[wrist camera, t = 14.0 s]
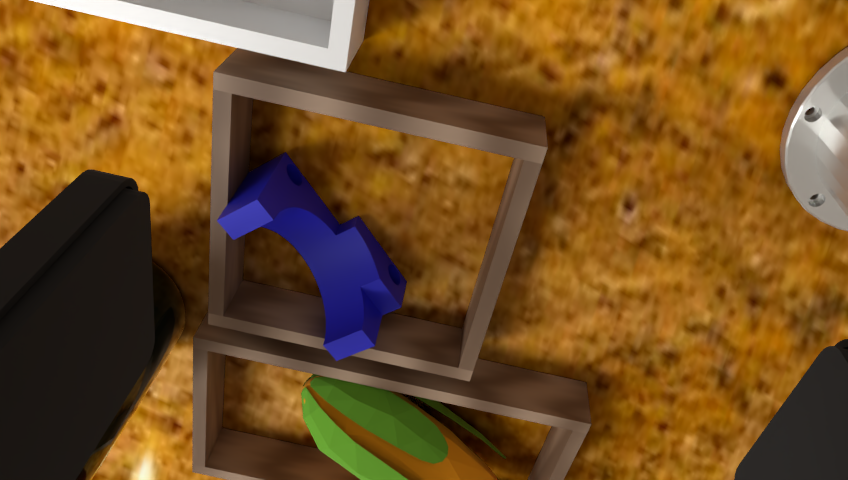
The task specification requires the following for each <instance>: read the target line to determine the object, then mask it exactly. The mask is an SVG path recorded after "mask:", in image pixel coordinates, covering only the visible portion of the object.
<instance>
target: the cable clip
mask: <svg viewBox="0 0 848 480" xmlns="http://www.w3.org/2000/svg"><path fill="white" fill-rule="evenodd" d="M217 222H218V223H219V224H220V225H221V226H222V227H223V229H224V230H225V231H226V232H227V233H228V234H229V236H230V237H231V238H232V239H233V240H235V239H237V238H239V237H241V236H243V235H245V234H247V233H249V232H251V231H253V230H255V229H257V228H259V227H264V228H267V229H270V230H272V231H274V232H276V233H278V234H279V235H281V236H282V237H284V238H285V239H286V240H287V241H289V242H290V243H291V244H292V245H293V246H294V247H295V249H296V250H297V251H298V252H299V253H300V254H301V256H302V257H303V259H304V260H305V261H306V263H307V265H308V266H309V268H310V270H311V272H312V273H313V275H314V278H315V280H316V282H317V284H318V287H319V290H320V293H321V296H322V299H323V304H324V309H325V316H326V334H325V340H324V344H323V346H324V347H325V348H326V349H327V351H328V352H329V353H330V354H331V355H332V356H333V358H334V359H335V360H336V361H338V360H340V359H343V358H346V357H348V356H351V355H353V354H356V353H358V352H361V351H364V350H366V349H369V348H371V347H374V346H375V344H376V340H377V336H378V331H379V327H380V323H381V319H382V315H384V314H387V313H389V312H392V311H394V310H397V309H399V308H401V307H402V302H403V297H404V293H405V288H406V283H407V281H406V280H405V278H404V277H403V276H402V274H401V273H400V272H399V270H398V269H397V267H396V266H395V265H394V263H393V262H392V261H391V259H390V258H389V257H388V255H387V254H386V252H385V251H384V250H383V248H382V247H381V246H380V244H379V243H378V242H377V240H376V239H375V237H374V236H373V235H372V233H371V232H370V231H369V229H368V228H367V226H366V225H365V224H364V222H363V221H362V220H361V218H360V217H359V216H357V217H355V218H353V219H351V220H349V221H347V222H345V223H342V224H339V223H338V221H337V220H336V219H335V217H334V216H333V215H332V213H331V212H330V211H329V209H328V208H327V207H326V205H325V204H324V203H323V201H322V200H321V199H320V197H319V196H318V195H317V193H316V192H315V191H314V189H313V188H312V187H311V185H310V184H309V183H308V181H307V180H306V179H305V177H304V176H303V175H302V173H301V172H300V171H299V169H298V168H297V167H296V165H295V164H294V163H293V161H292V160H291V159H290V157H289V156H288V155H287V153H286V152H285V153H283V154H281V155H280V156H278V157H276V158H274V159H272V160H270V161H268V162H267V163H265V164H263V165H261V166H259V167H257V168H256V169H254V170H252V171H250V172H249V173H248V174H247V176H246V177H245V179H244V180H243V182H242V183H241V185H240V186H239V188H238V189H237V191H236V192H235V194H234V195H233V197H232V198H231V200H230V201H229V203H228V204H227V206H226V207H225V209H224V210H223V212H222V213H221V215H220V216H219V218H218V219H217Z"/></svg>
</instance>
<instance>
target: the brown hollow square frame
mask: <svg viewBox="0 0 848 480" xmlns="http://www.w3.org/2000/svg"><path fill="white" fill-rule="evenodd" d="M253 99H258V100H262V101H267V102H271V103H275V104H280V105H284V106H289V107H293V108H297V109H302V110H306V111H311V112H315V113H320V114H324V115H328V116H333V117H337V118H342V119H346V120H350V121H355V122H359V123H364V124H368V125H372V126H377V127H381V128H386V129H390V130H394V131H399V132H403V133H408V134H412V135H416V136H421V137H425V138H430V139H434V140H438V141H443V142H447V143H452V144H456V145H460V146H465V147H469V148H474V149H478V150H482V151H487V152H491V153H496V154H500V155H504V156H509V157H513V158H514V160H513V164H512V167H511V170H510V174H509V177H508V180H507V183H506V187H505V190H504V193H503V196H502V200H501V203H500V206H499V209H498V213H497V216H496V219H495V223H494V226H493V229H492V232H491V236H490V239H489V242H488V245H487V249H486V252H485V255H484V259H483V262H482V265H481V268H480V272H479V275H478V278H477V281H476V285H475V288H474V291H473V295H472V298H471V301H470V304H469V308H468V311H467V314H466V317H465V321H464V324H463V327H462V328H457V327H453V326H448V325H444V324H439V323H435V322H430V321H426V320H421V319H417V318H412V317H408V316H403V315H399V314H394V313H390V312H389V313H387V314H384V315H382V319H381V323H380V327H379V331H378V336H377V340H376V344H375V346H374V347H371V348H369V349H366V350H364V351H361V352H358V353H356V354H353V355H351V356H355V357H360V358H364V359H369V360H374V361H378V362H383V363H387V364H392V365H396V366H401V367H405V368H410V369H415V370H419V371H424V372H428V373H433V374H437V375H442V376H446V377H451V378H456V379H460V380H465V381H469V382H470V379H471V376H472V373H473V370H474V367H475V364H476V361H477V358H478V355H479V352H480V349H481V346H482V343H483V340H484V337H485V334H486V331H487V328H488V325H489V322H490V319H491V316H492V313H493V310H494V307H495V304H496V301H497V298H498V295H499V292H500V289H501V286H502V283H503V280H504V277H505V274H506V271H507V268H508V265H509V262H510V259H511V256H512V253H513V250H514V247H515V244H516V241H517V238H518V235H519V232H520V229H521V226H522V223H523V220H524V217H525V214H526V211H527V208H528V205H529V202H530V199H531V196H532V193H533V190H534V187H535V184H536V181H537V178H538V175H539V172H540V169H541V166H542V163H543V160H544V157H545V154H546V151H547V149H548V145H547V135H546V124H545V117H543V116H539V115H534V114H530V113H525V112H521V111H517V110H512V109H508V108H504V107H499V106H495V105H490V104H486V103H482V102H477V101H473V100H469V99H464V98H460V97H455V96H451V95H447V94H442V93H438V92H434V91H429V90H425V89H421V88H416V87H412V86H407V85H403V84H399V83H394V82H390V81H386V80H381V79H377V78H372V77H368V76H364V75H359V74H355V73H351V72H341V71H337V70H333V69H328V68H324V67H319V66H315V65H311V64H306V63H302V62H298V61H293V60H289V59H285V58H280V57H276V56H271V55H267V54H263V53H258V52H254V51H250V50H245V49H241V48H237V49H236V50H235V51H234V52H233V53H232V54H231V55H230V56H229V57H228V58H227V59H226V60H225V61H224V62H223V63H222V64H221V65H220V66H219V67H218V68H217V69H216V70H215V71H214V75H213V121H212V166H211V212H210V258H209V303H208V324H210V325H214V326H219V327H223V328H228V329H232V330H237V331H241V332H246V333H251V334H255V335H260V336H264V337H269V338H273V339H278V340H282V341H287V342H292V343H296V344H301V345H305V346H310V347H314V348H319V349H323V350H327V349H326V348H325V347H324V346H323V344H324V340H325V334H326V316H325V309H324V304H323V299H322V297H317V296H313V295H308V294H304V293H299V292H295V291H290V290H286V289H281V288H277V287H272V286H268V285H263V284H259V283H254V282H249V281H245V280H243V264H244V246H245V235H243V236H241V237H239V238H237V239H235V240H233V239H232V238H231V237H230V236H229V234H228V233H227V232H226V231H225V230H224V229H223V227H222V226H221V225H220V224H219V223H218V222H217V219H218V218H219V216H220V215H221V213H222V212H223V210H224V209H225V207H226V206H227V204H228V203H229V201H230V200H231V198H232V197H233V195H234V194H235V192H236V191H237V189H238V188H239V186H240V185H241V183H242V182H243V180H244V179H245V177H246V176H247V174H248V173H249V159H250V142H251V125H252V107H253Z"/></svg>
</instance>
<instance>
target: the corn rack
mask: <svg viewBox="0 0 848 480" xmlns="http://www.w3.org/2000/svg"><path fill="white" fill-rule="evenodd" d="M225 355H229V356H234V357H238V358H243V359H247V360H252V361H257V362H261V363H266V364H270V365H275V366H279V367H284V368H289V369H293V370H298V371H302V372H307V373H312V374H316V375H321V376H325V377H330V378H334V379H339V380H344V381H348V382H353V383H357V384H362V385H366V386H371V387H376V388H380V389H385V390H389V391H394V392H398V393H403V394H408V395H412V396H417V397H421V398H426V399H430V400H435V401H440V402H444V403H449V404H453V405H458V406H462V407H467V408H472V409H476V410H481V411H485V412H490V413H494V414H499V415H504V416H508V417H513V418H517V419H522V420H526V421H531V422H536V423H540V424H545V425H549V426H552V427H551V430H550V432H549V434H548V436H547V438H546V440H545V443H544V445H543V447H542V449H541V451H540V454H539V456H538V458H537V460H536V462H535V465H534V467H533V469H532V471H531V473H530V476H529V478H528V480H564V478H565V476H566V474H567V472H568V470H569V468H570V466H571V464H572V462H573V460H574V458H575V456H576V454H577V452H578V450H579V448H580V446H581V444H582V442H583V440H584V438H585V436H586V434H587V432H588V430H589V428H590V426H591V416H590V408H589V399H588V391H587V383H586V382H582V381H578V380H573V379H569V378H564V377H560V376H555V375H550V374H546V373H541V372H537V371H532V370H528V369H523V368H519V367H514V366H510V365H505V364H501V363H496V362H491V361H487V360H482V359H478V358H477V361H476V364H475V367H474V370H473V373H472V376H471V379H470V382H469V381H465V380H460V379H456V378H451V377H446V376H442V375H437V374H433V373H428V372H424V371H419V370H415V369H410V368H405V367H401V366H396V365H392V364H387V363H383V362H378V361H374V360H369V359H364V358H360V357H355V356H348V357H346V358H343V359H340V360H338V361H336V360H335V359H334V358H333V356H332V355H331V354H330V353H329V352H328V351H327V350H323V349H319V348H314V347H310V346H305V345H301V344H296V343H292V342H287V341H282V340H278V339H273V338H269V337H264V336H260V335H255V334H251V333H246V332H241V331H237V330H232V329H228V328H223V327H219V326H214V325H210V324H208V312H207V314H206V316H205V317H204V319H203V321H202V323H201V324H200V326H199V328H198V330H197V331H196V333H195V335H194V337H193V472H195V473H199V474H204V475H209V476H213V477H218V478H223V479H227V480H360V479H359V478H358V477H356V476H355V475H353V474H352V473H351V472H349V471H348V470H346V469H345V468H344V467H342V466H341V465H339V464H338V463H337V462H335V461H334V460H333V459H331V458H330V457H328V456H327V455H326V454H324V453H323V452H321V451H320V450H319V449H318V448H313V447H308V446H304V445H299V444H294V443H290V442H285V441H281V440H276V439H271V438H267V437H262V436H257V435H253V434H248V433H244V432H239V431H234V430H230V429H225V428H222V423H223V400H224V376H225Z"/></svg>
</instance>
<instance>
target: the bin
mask: <svg viewBox="0 0 848 480" xmlns="http://www.w3.org/2000/svg"><path fill="white" fill-rule="evenodd" d="M31 1H35V2H40V3H44V4H48V5H53V6H57V7H61V8H66V9H70V10H75V11H79V12H83V13H88V14H92V15H96V16H101V17H105V18H110V19H114V20H118V21H123V22H127V23H131V24H136V25H140V26H145V27H149V28H153V29H158V30H162V31H166V32H171V33H175V34H180V35H184V36H188V37H193V38H197V39H201V40H206V41H210V42H215V43H219V44H223V45H228V46H232V47H236V48H241V49H245V50H250V51H254V52H258V53H263V54H267V55H271V56H276V57H280V58H285V59H289V60H293V61H298V62H302V63H306V64H311V65H315V66H319V67H324V68H328V69H333V70H337V71H341V72H346V71H347V69H348V67H349V65H350V64H351V62H352V60H353V58H354V56H355V55H356V53H357V51H358V49H359V48H360V46H361V44H362V42H363V40H364V33H365V26H366V19H367V13H368V6H369V0H31Z"/></svg>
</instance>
